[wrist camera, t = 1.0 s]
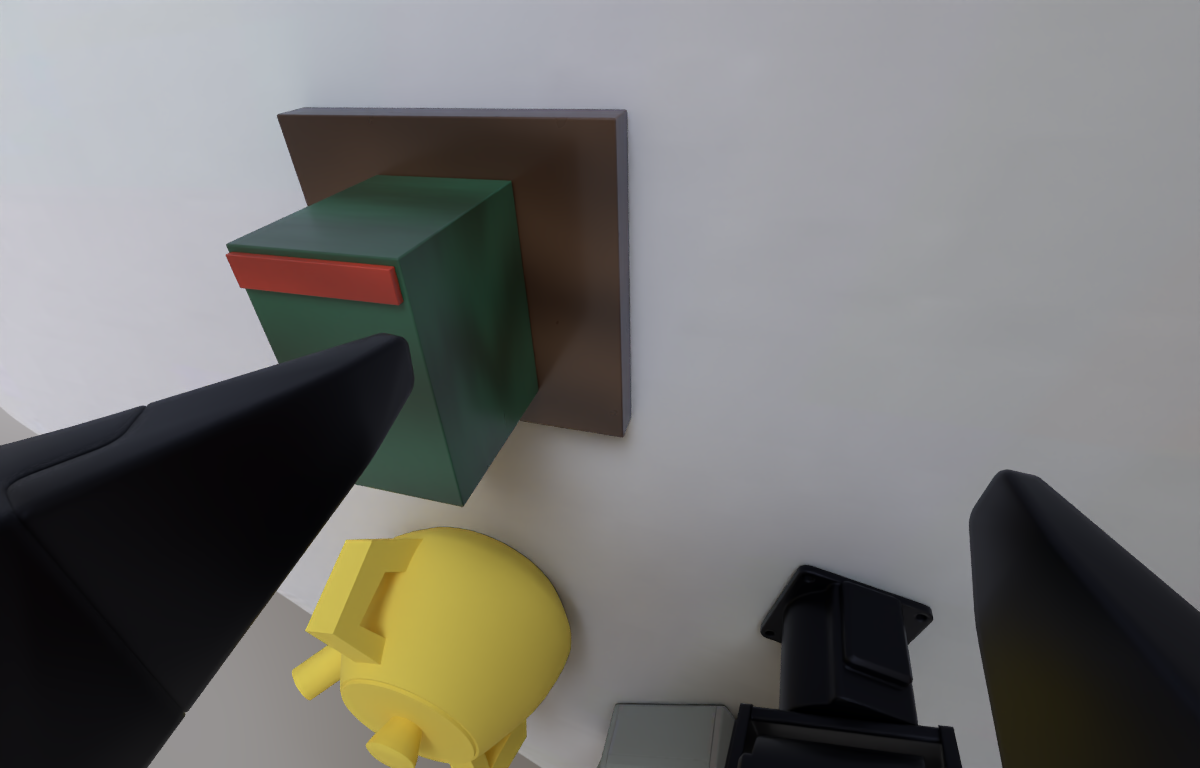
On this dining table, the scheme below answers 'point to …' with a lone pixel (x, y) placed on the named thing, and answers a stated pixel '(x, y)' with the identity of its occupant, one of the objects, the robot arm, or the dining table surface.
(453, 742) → the teapot
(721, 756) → the digital clock
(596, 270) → the brown square board
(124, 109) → the dining table surface
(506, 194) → the green box
